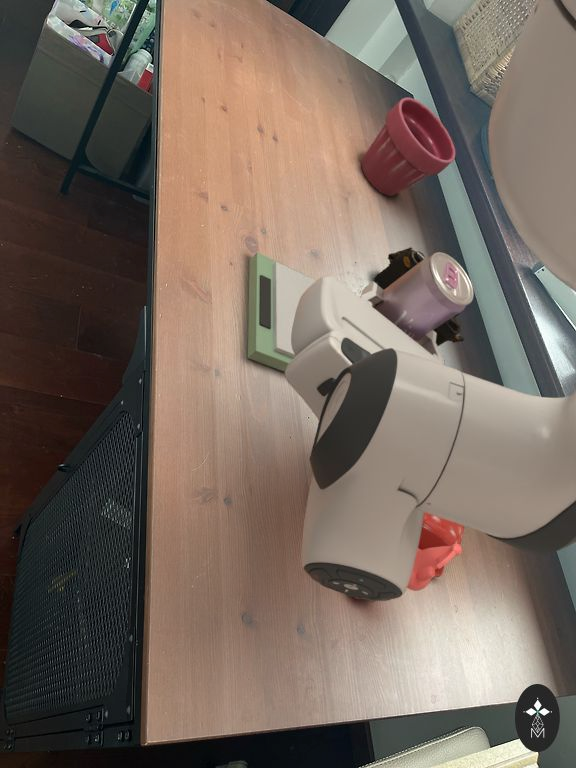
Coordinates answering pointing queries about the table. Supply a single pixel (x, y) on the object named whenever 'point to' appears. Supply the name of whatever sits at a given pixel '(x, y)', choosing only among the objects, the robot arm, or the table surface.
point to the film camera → (400, 266)
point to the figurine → (430, 564)
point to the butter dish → (439, 534)
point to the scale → (273, 310)
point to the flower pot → (407, 148)
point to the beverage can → (427, 295)
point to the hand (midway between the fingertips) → (399, 310)
